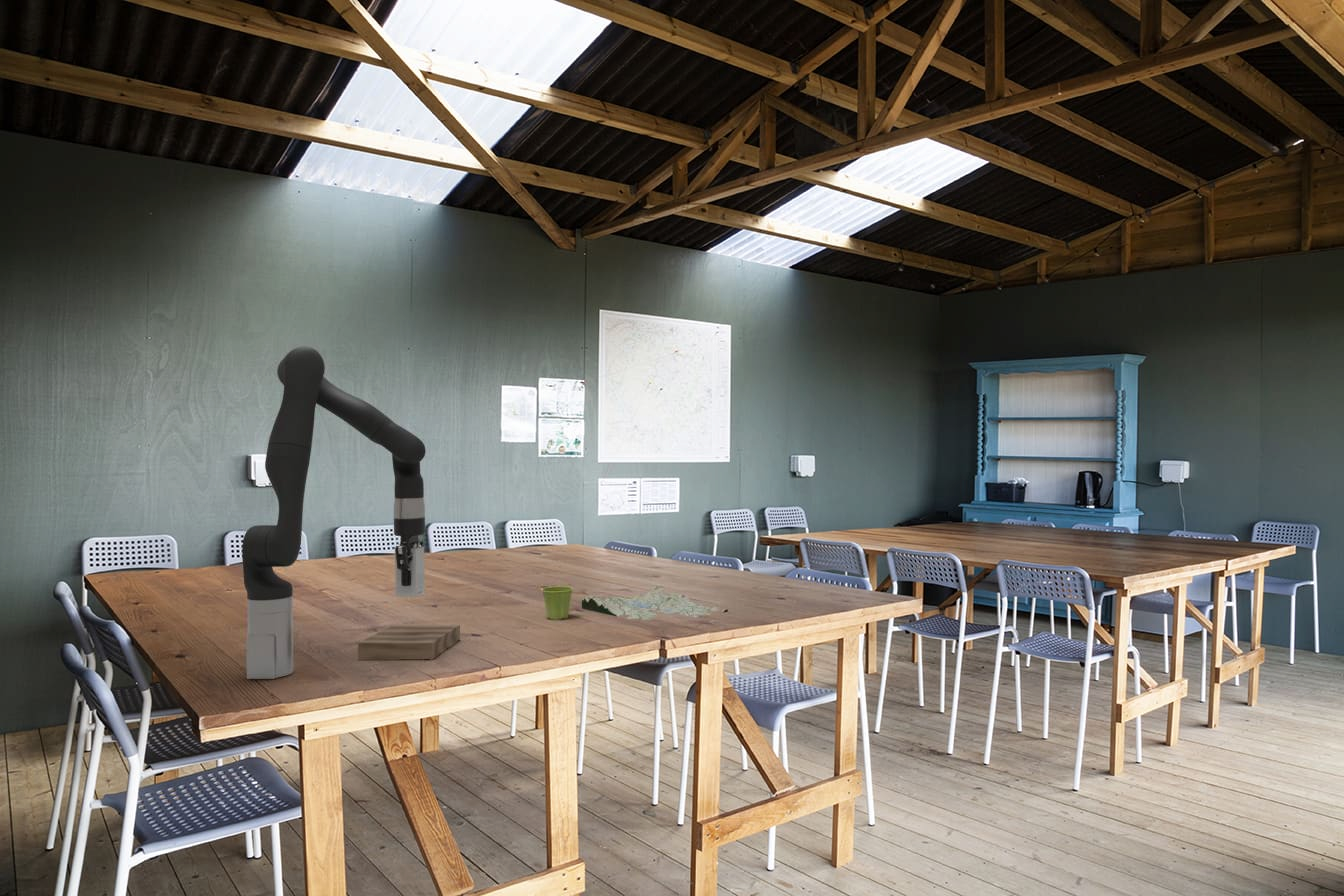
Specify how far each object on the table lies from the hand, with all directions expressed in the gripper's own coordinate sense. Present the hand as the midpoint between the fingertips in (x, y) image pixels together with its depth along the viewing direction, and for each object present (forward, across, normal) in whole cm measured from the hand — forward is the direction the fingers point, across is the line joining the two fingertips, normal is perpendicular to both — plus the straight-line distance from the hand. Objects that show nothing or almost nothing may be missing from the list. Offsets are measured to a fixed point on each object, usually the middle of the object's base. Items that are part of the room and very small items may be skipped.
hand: (410, 583), depth 220 cm
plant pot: (+17, +42, -30) cm, 54 cm away
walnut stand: (+16, 0, 0) cm, 16 cm away
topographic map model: (+17, +54, -57) cm, 81 cm away
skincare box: (+3, 0, 0) cm, 3 cm away
